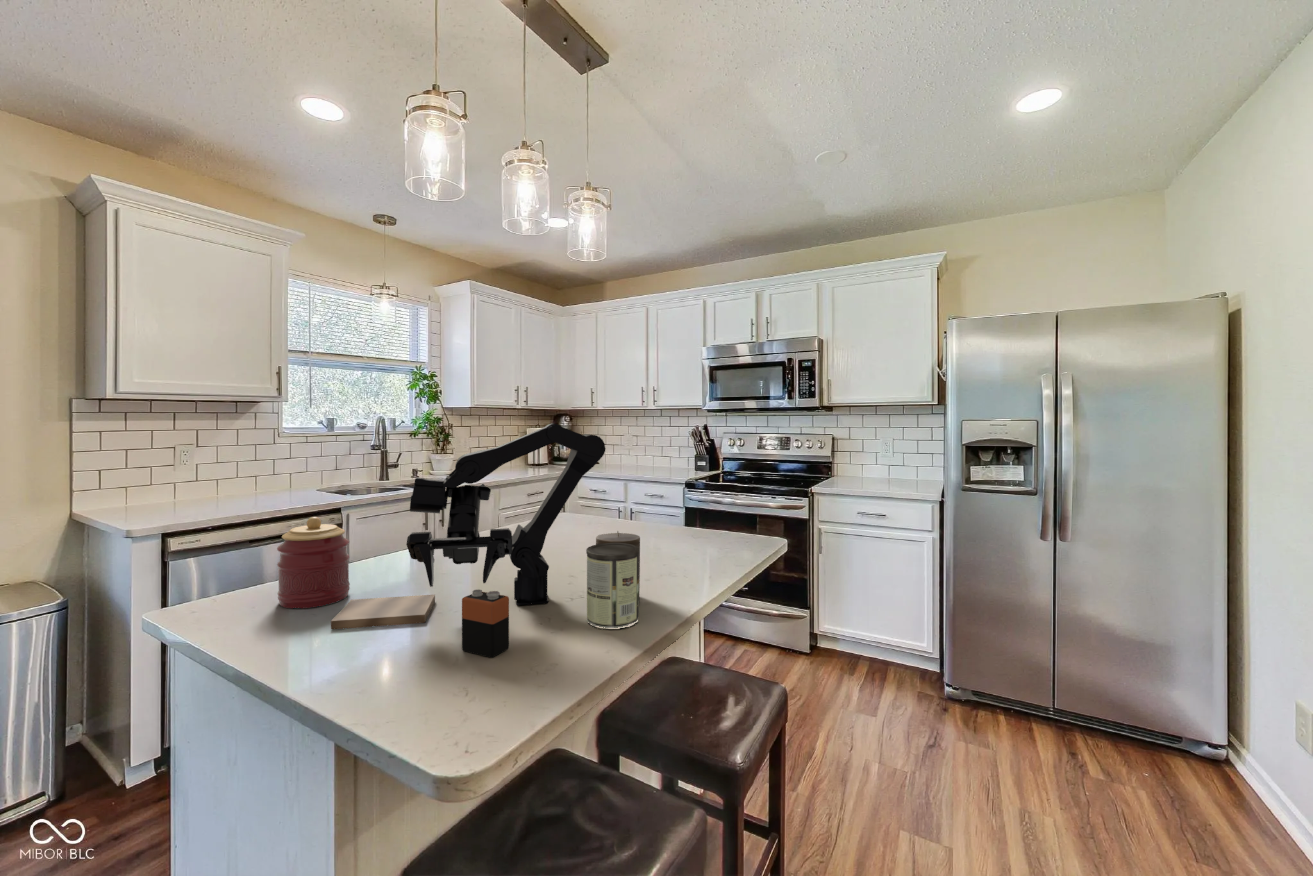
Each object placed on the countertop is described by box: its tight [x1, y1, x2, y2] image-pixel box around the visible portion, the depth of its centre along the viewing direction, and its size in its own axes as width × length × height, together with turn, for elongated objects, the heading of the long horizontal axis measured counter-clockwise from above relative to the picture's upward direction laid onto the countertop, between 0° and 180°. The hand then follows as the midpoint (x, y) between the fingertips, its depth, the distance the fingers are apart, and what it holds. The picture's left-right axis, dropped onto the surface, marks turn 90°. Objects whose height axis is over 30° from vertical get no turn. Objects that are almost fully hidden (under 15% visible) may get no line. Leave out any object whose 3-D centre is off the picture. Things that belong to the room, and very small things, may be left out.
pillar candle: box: [595, 530, 641, 589], centre depth 117 cm, size 10×10×15 cm
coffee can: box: [585, 543, 641, 628], centre depth 105 cm, size 10×10×14 cm
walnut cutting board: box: [330, 594, 436, 630], centre depth 107 cm, size 16×12×2 cm
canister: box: [276, 516, 351, 609], centre depth 115 cm, size 13×13×18 cm
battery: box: [461, 589, 510, 658], centre depth 91 cm, size 4×7×10 cm, turn 66°
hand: (457, 584), depth 99 cm, fingers open, 9 cm apart
